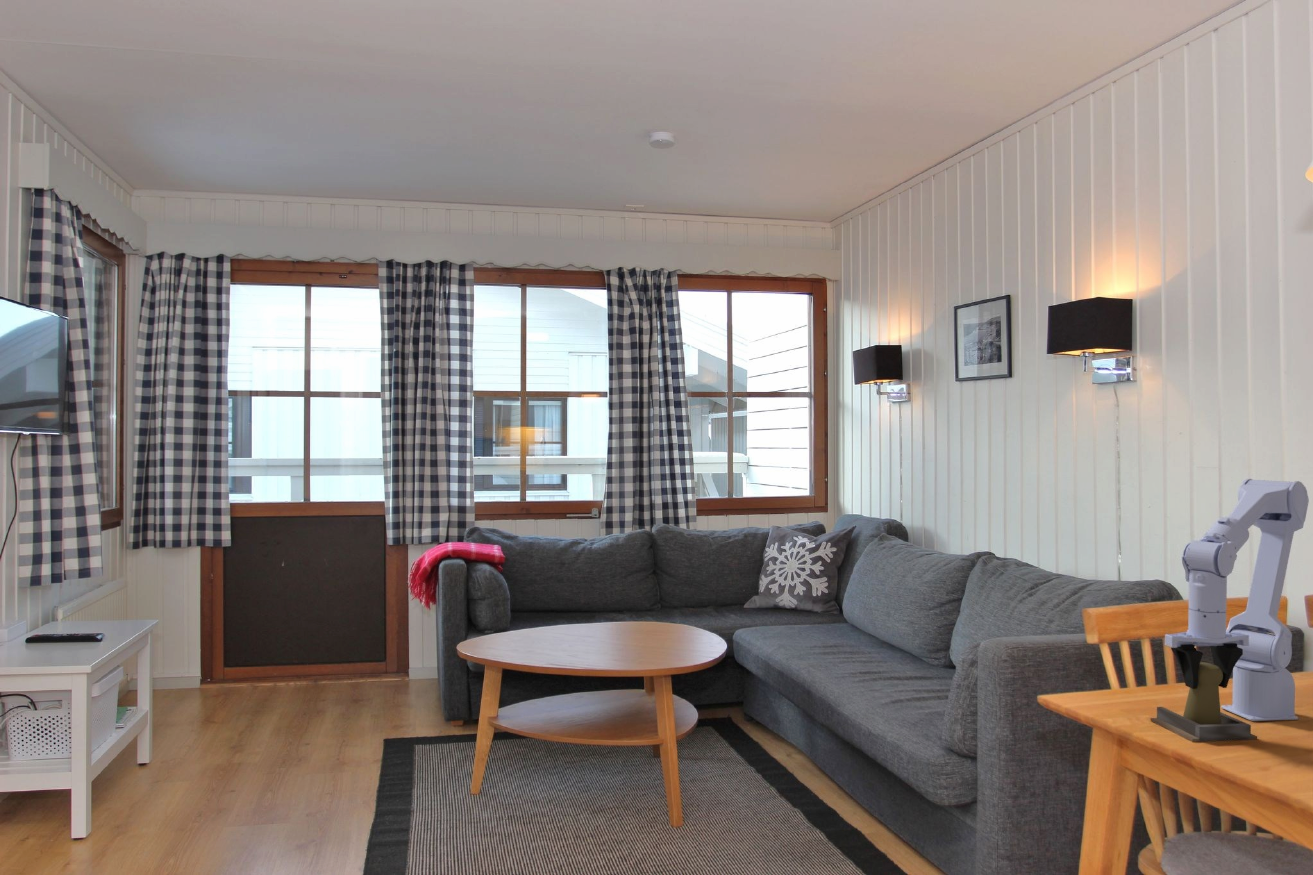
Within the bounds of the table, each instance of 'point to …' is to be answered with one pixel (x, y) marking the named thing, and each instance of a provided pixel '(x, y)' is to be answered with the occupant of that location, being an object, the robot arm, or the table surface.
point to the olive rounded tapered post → (1205, 696)
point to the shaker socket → (1204, 727)
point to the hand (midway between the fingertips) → (1206, 686)
